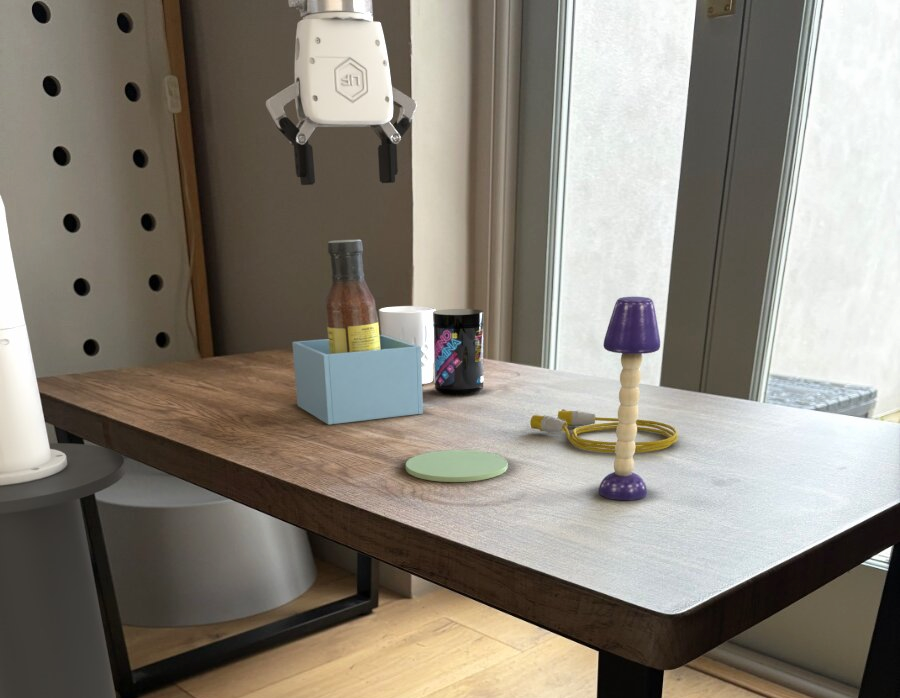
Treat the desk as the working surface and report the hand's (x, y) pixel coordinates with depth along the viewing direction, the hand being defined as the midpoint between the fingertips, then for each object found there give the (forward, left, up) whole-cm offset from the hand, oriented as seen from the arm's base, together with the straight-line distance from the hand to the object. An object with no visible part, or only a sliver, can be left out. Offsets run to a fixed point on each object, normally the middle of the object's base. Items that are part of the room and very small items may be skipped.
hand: (348, 183), depth 106 cm
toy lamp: (+8, -45, -26) cm, 53 cm away
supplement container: (+16, +4, -26) cm, 31 cm away
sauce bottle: (0, 0, -26) cm, 26 cm away
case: (0, 0, -26) cm, 26 cm away
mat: (-1, -30, -26) cm, 40 cm away
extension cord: (+19, -27, -26) cm, 42 cm away
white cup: (+13, +14, -26) cm, 32 cm away
